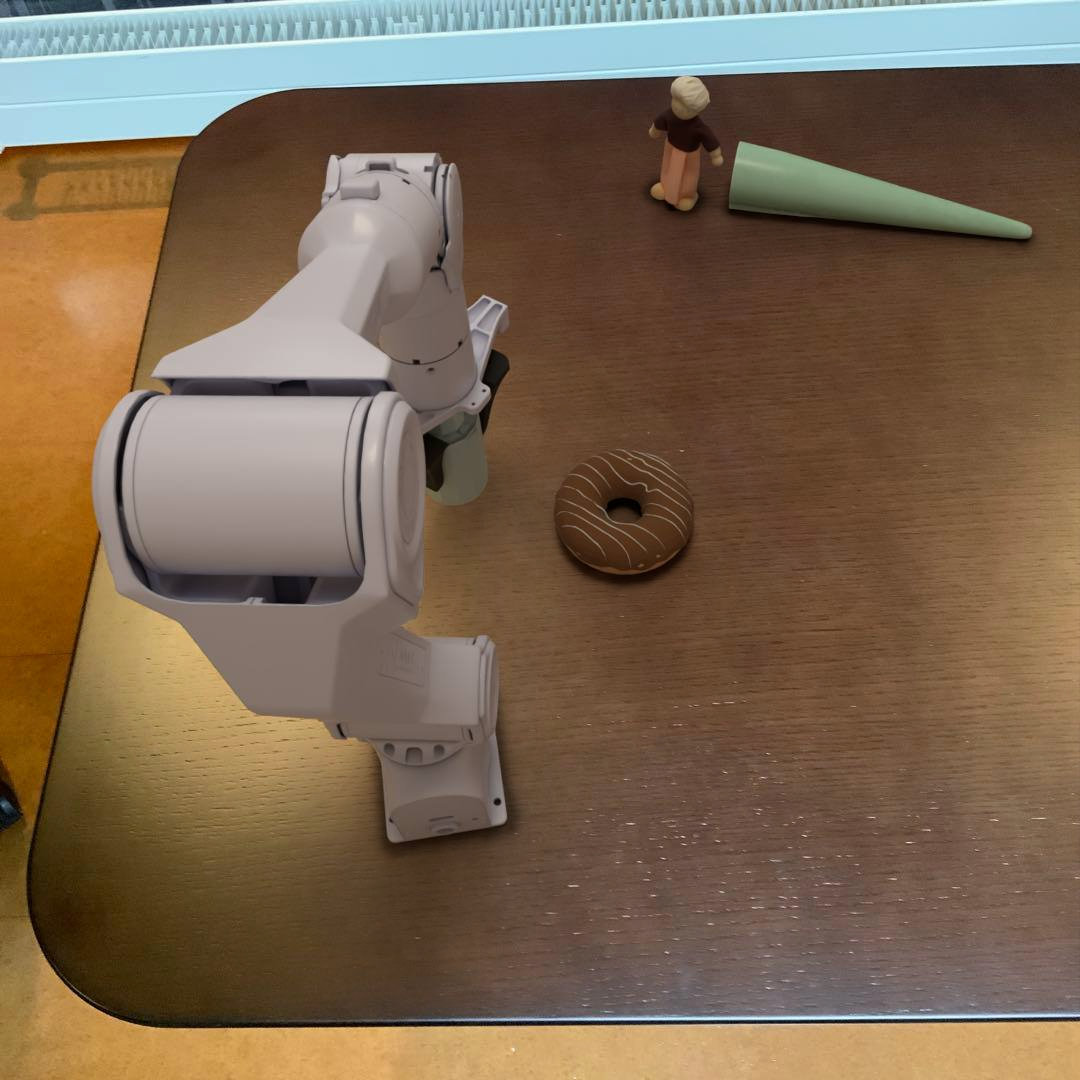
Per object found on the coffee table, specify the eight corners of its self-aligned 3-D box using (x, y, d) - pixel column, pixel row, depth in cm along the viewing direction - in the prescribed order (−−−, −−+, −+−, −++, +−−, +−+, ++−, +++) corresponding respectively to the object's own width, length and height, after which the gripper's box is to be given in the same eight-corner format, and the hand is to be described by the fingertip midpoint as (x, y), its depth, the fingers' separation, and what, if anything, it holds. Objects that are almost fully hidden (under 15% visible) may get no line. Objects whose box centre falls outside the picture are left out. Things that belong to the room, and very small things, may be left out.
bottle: (500, 468, 77) (488, 383, 69) (463, 516, 75) (445, 435, 67) (447, 441, 79) (428, 354, 70) (410, 487, 77) (386, 404, 68)
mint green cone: (1051, 212, 88) (732, 168, 92) (1028, 260, 92) (725, 216, 97) (1052, 169, 90) (742, 128, 95) (1030, 218, 95) (735, 176, 99)
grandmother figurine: (633, 199, 99) (638, 80, 88) (650, 173, 100) (657, 54, 89) (709, 224, 97) (723, 105, 86) (725, 197, 98) (741, 78, 87)
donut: (583, 603, 78) (582, 578, 74) (535, 491, 83) (533, 463, 79) (715, 558, 79) (721, 531, 76) (660, 451, 84) (663, 421, 81)
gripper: (404, 441, 59) (436, 557, 71) (543, 274, 64) (551, 408, 76) (306, 390, 61) (354, 511, 73) (449, 233, 67) (472, 369, 78)
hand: (450, 456), depth 75 cm, fingers closed on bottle, 5 cm apart
